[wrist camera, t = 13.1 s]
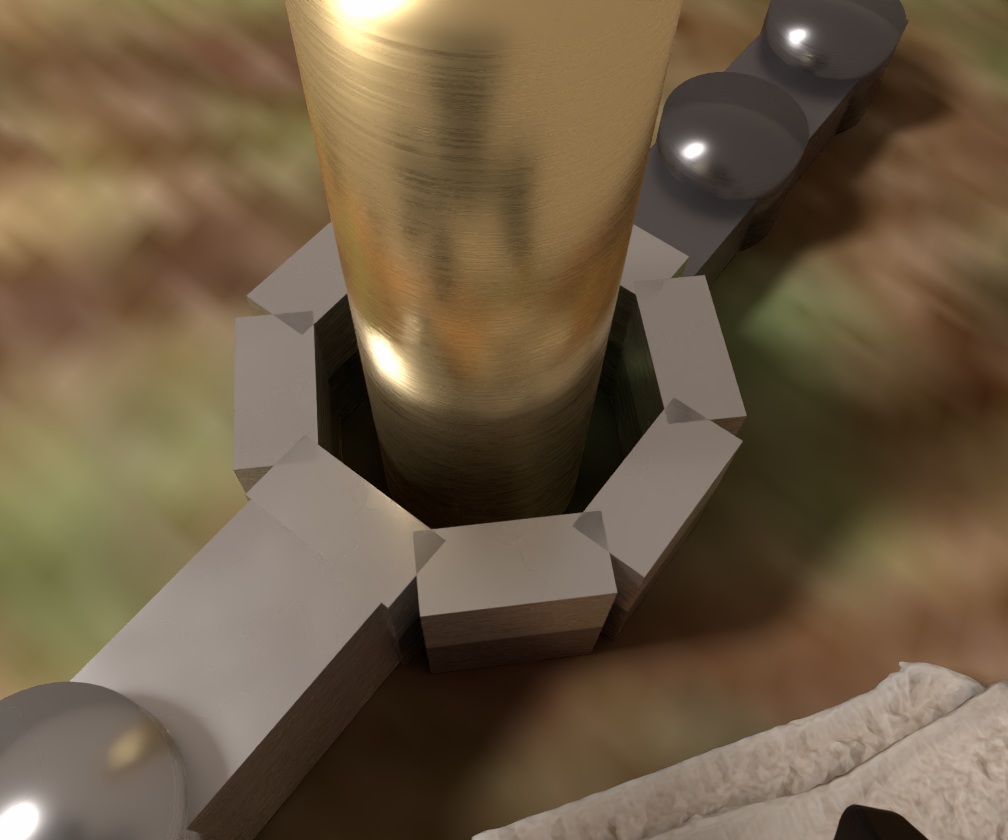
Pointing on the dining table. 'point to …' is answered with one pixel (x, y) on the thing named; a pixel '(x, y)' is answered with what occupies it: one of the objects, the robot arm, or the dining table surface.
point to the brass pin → (482, 225)
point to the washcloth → (821, 773)
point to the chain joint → (399, 535)
